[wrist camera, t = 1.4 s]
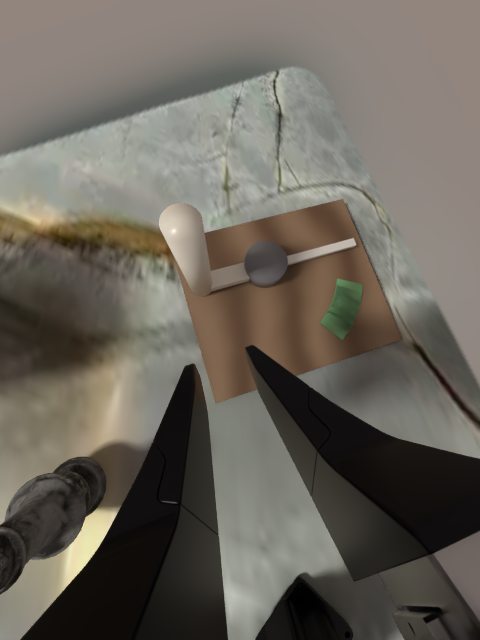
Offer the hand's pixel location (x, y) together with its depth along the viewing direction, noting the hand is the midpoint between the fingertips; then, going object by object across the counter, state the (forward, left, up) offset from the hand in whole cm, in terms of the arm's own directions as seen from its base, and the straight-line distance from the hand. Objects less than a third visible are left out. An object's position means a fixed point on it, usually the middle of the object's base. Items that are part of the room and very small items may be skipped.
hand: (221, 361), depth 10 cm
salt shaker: (+2, +18, -14) cm, 23 cm away
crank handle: (+3, -11, -12) cm, 17 cm away
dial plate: (0, -10, -14) cm, 17 cm away
